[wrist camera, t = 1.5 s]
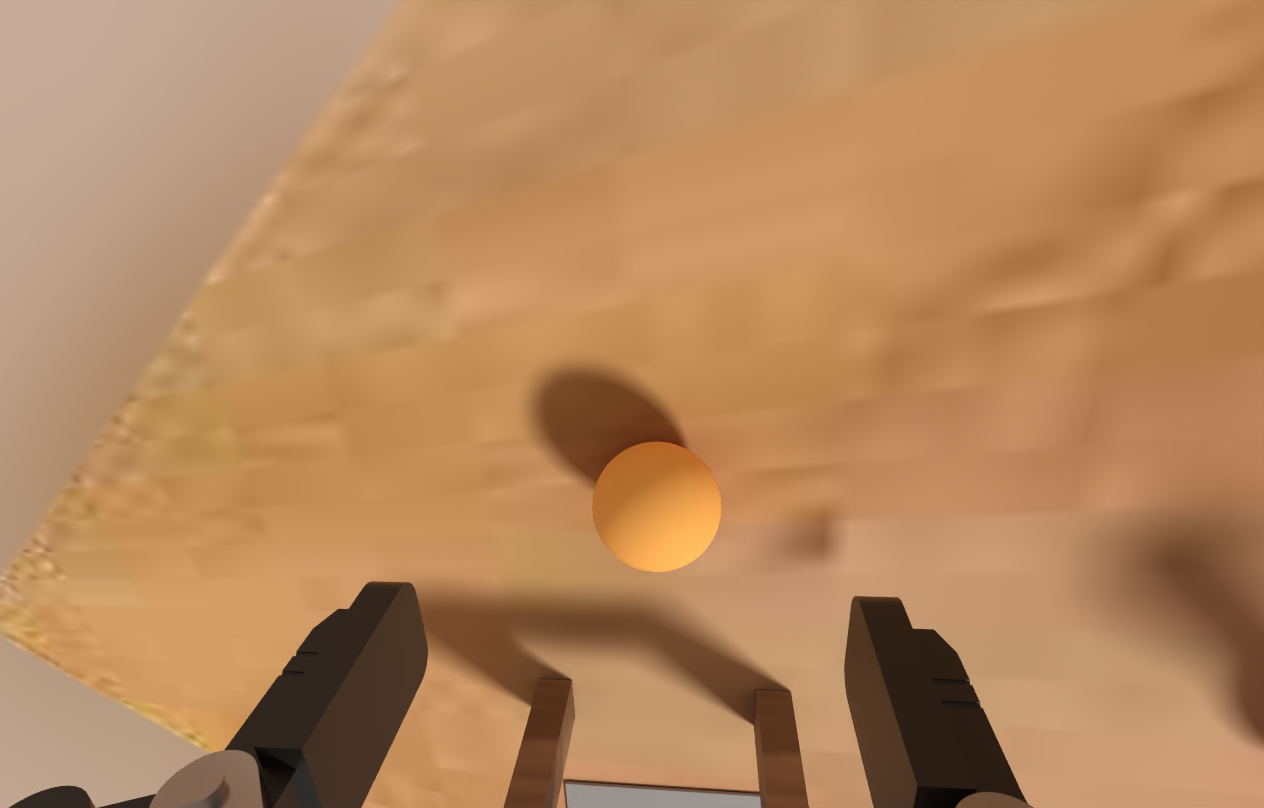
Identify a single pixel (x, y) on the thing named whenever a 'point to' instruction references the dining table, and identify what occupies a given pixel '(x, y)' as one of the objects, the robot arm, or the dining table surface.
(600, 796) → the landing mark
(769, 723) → the bridge
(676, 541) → the ball
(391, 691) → the robot arm
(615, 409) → the dining table surface
